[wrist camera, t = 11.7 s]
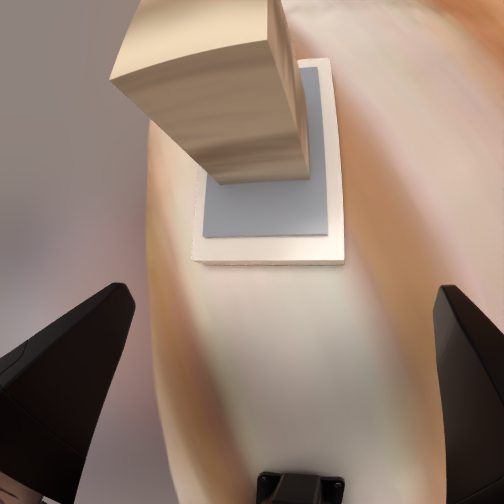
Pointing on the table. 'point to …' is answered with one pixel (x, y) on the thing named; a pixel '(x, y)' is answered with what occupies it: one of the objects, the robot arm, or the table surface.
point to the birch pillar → (220, 85)
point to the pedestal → (280, 199)
